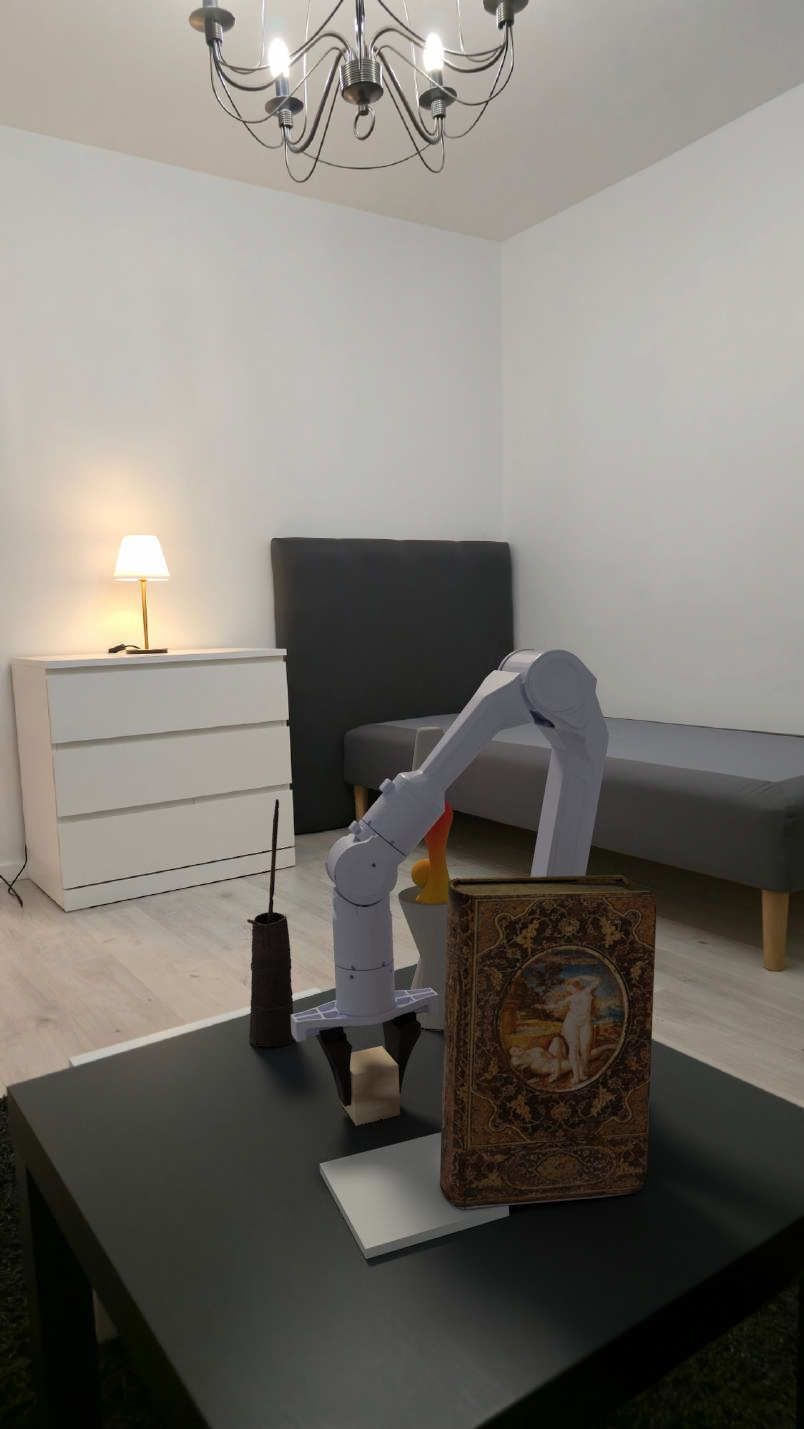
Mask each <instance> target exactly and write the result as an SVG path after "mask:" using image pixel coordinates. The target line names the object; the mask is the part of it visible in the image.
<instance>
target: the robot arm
mask: <svg viewBox="0 0 804 1429" xmlns="http://www.w3.org/2000/svg"><path fill="white" fill-rule="evenodd" d="M597 682H598V678H597V677H596V675H595V674H594V673H592V671H591V670H590V669H589V668H588V667H587V666H586V665H585V663H584V662H583V661H582V660H581V659H580V658H579V657H578V656H577V655H575V654H574V653H572V652H570V651H567V650H564V649H551V650H536V649H534V648H520V649H517V650H514V651H512V652H510V653H509V654H508V655H506V656H505V657H504V659H503V660H502V661H501V662H500V664H499V666H498V668H497V670H496V669H495V670H493V671H492V672H491V673H489V674H488V675H487V676H486V677H485V679H484V680H483V681H482V683H481V684H480V686H479V687H478V689H477V691H476V692H475V693H474V694H473V696H472V697H471V699H470V700H469V701H468V703H466V706H464V708H463V709H462V711H461V712H460V713H459V715H458V716H457V717H456V719H455V720H454V721H453V723H452V724H451V726H449V728H448V729H447V731H446V732H445V733H444V736H443V737H442V739H441V740H440V741H439V743H438V744H437V745H436V747H435V748H434V749H433V751H432V752H431V753H430V755H429V756H428V757H427V759H426V760H425V761H424V763H423V764H422V765H421V767H420V768H419V769H418V770H416V771H412V770H411V771H407V772H400V773H398V774H397V775H396V776H395V777H394V779H392V780H391V779H389V778H386V779H384V780H383V782H382V783H381V784H380V785H379V790H380V791H381V792H382V793H381V795H380V796H379V797H378V798H377V800H376V801H375V802H374V803H373V804H372V805H371V807H370V808H368V811H367V812H366V813H365V814H364V815H363V816H362V818H361V819H360V820H358V822H357V821H356V820H353V821H352V822H351V824H350V825H349V826H348V830H349V832H351V833H348V835H346V836H345V835H344V836H342V837H341V838H339V839H338V840H336V842H334V844H333V845H332V847H331V848H330V850H329V852H328V855H327V856H328V859H327V860H326V861H325V862H324V866H325V871H326V873H327V875H328V878H329V879H330V881H331V882H332V883H333V884H334V885H335V887H333V888H332V893H333V896H332V907H333V908H332V909H333V912H332V935H333V936H332V938H333V957H334V958H333V959H334V960H333V962H334V978H335V979H334V980H335V984H334V985H335V999H334V1000H332V1001H329V1002H326V1003H323V1004H320V1005H318V1006H316V1007H313V1008H310V1009H307V1010H305V1011H301V1012H300V1011H299V1012H297V1013H293V1014H291V1032H292V1035H293V1037H294V1038H295V1039H294V1040H295V1041H296V1042H297V1043H298V1042H299V1043H300V1042H303V1041H307V1039H308V1037H312V1036H315V1037H316V1040H317V1041H318V1043H319V1044H320V1047H321V1049H322V1052H323V1053H324V1055H325V1057H326V1059H327V1062H328V1064H329V1067H330V1070H331V1073H332V1076H333V1079H334V1083H335V1087H336V1091H337V1097H338V1099H339V1101H340V1103H341V1102H342V1104H343V1105H344V1106H350V1105H351V1098H352V1093H351V1082H350V1062H351V1053H352V1052H353V1051H352V1050H353V1046H352V1044H351V1043H350V1041H349V1040H348V1038H347V1033H346V1032H345V1030H346V1029H347V1030H348V1029H351V1028H356V1027H361V1026H372V1025H378V1024H381V1025H382V1031H383V1039H384V1047H385V1048H384V1049H385V1050H386V1051H387V1053H388V1054H389V1055H390V1056H391V1057H392V1058H393V1060H394V1061H395V1062H396V1063H397V1064H398V1072H399V1095H400V1094H401V1093H402V1089H403V1087H402V1086H403V1082H404V1077H405V1073H406V1069H407V1065H408V1062H409V1059H410V1057H411V1054H412V1051H413V1050H414V1047H415V1046H416V1043H417V1041H418V1040H419V1039H420V1037H421V1034H422V1029H421V1023H420V1022H419V1021H418V1020H417V1018H416V1014H421V1013H426V1012H427V1013H428V1014H436V1013H439V999H438V994H437V993H436V992H435V991H434V990H432V989H431V988H425V989H418V990H411V989H405V990H403V989H401V990H396V987H395V985H396V983H395V980H396V979H395V962H394V958H395V957H394V940H393V937H394V936H393V935H394V934H393V914H392V910H391V897H390V895H391V894H390V893H391V892H393V890H394V889H395V887H396V885H397V881H398V875H399V873H398V868H399V866H400V865H401V864H402V863H404V862H405V861H406V859H407V858H408V857H409V856H410V855H411V853H412V852H413V851H414V849H415V848H417V846H418V845H419V843H420V842H421V841H422V840H423V839H424V836H425V835H426V834H427V832H428V831H429V830H430V829H431V827H432V826H433V825H434V824H435V823H436V821H437V820H438V819H439V817H440V816H441V815H442V814H443V813H444V811H445V802H444V799H445V793H446V790H448V788H449V787H450V786H451V785H452V784H453V783H454V782H455V781H456V780H457V779H458V777H459V776H460V775H461V774H462V773H463V772H464V771H465V770H466V769H467V767H468V766H469V765H470V764H471V763H472V762H473V761H474V760H475V759H476V757H477V756H478V755H479V754H480V753H481V752H482V751H483V750H484V749H485V748H486V746H487V745H488V744H489V743H490V742H491V741H492V740H493V739H494V738H495V736H496V735H497V734H498V733H499V732H501V731H505V730H507V729H512V728H516V727H520V726H525V725H527V724H528V725H529V724H531V723H533V724H534V725H535V727H536V728H537V729H538V730H539V731H540V732H541V734H542V735H543V736H544V737H545V739H546V740H547V741H548V742H549V744H550V745H551V755H550V758H549V759H550V760H549V765H548V772H547V778H546V781H545V782H546V784H545V789H544V795H543V800H542V805H541V806H542V807H541V813H540V819H539V824H538V831H537V836H536V843H535V846H534V847H535V848H534V854H533V861H532V865H531V871H530V876H529V877H546V876H587V868H588V863H589V858H590V857H589V856H590V850H591V847H592V846H591V845H592V840H593V833H594V829H595V821H596V816H597V811H598V804H599V799H600V793H601V787H602V781H603V775H604V772H605V770H604V768H605V765H606V758H607V753H608V748H609V747H608V746H609V740H610V739H609V737H610V736H609V730H608V727H607V724H606V720H605V716H604V714H603V711H602V709H601V704H600V702H599V699H598V694H597V692H596V691H597ZM342 1104H341V1105H342ZM343 1105H342V1106H343Z"/></svg>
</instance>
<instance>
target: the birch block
mask: <svg viewBox="0 0 804 1429" xmlns="http://www.w3.org/2000/svg"><path fill="white" fill-rule="evenodd" d="M350 1082H351V1093H352V1098H351V1105H350V1106H344V1105H343V1104H342V1102H341V1101H340V1105H342V1107H343V1108H344V1110H345V1111H347V1112H346V1113H347V1114H349V1115H348V1117H350V1119H351V1121H352V1122H353V1124H354V1125H355V1126H356V1127H357V1126H362V1125H365V1123H366V1124H369V1122H370V1123H373V1122H378V1121H381V1120H380V1119H382V1120H385V1119H389V1118H393V1116H394V1117H396V1116H397V1115H398V1116H401V1104H400V1102H401V1101H400V1100H401V1099H400V1094H399V1072H398V1064H397V1063H396V1062H395V1061H394V1060H393V1058H392V1057H391V1056H390V1055H389V1054H388V1053H387V1051H386V1048H384V1046H383V1045H380V1046H375V1047H371V1048H366V1049H362V1050H357V1051H352V1052H351V1062H350ZM398 1116H397V1117H398ZM377 1120H378V1121H377ZM361 1124H362V1125H361Z"/></svg>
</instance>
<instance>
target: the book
mask: <svg viewBox="0 0 804 1429" xmlns="http://www.w3.org/2000/svg"><path fill="white" fill-rule="evenodd" d="M656 935H657V898H656V895H655V894H654V893H653V892H651V891H650V890H636V889H633V888H631V887H630V881H629V879H628V878H627V877H626V876H624V875H623V874H617V875H616V874H612V875H609V874H607V875H606V874H605V875H604V874H603V875H585V876H546V877H530V876H508V877H507V876H505V877H504V876H503V877H500V876H499V877H498V876H496V877H495V876H494V877H457V878H453V879H451V880H450V881H449V882H448V905H447V941H446V978H445V1014H444V1030H443V1051H442V1052H443V1053H442V1054H443V1057H442V1058H443V1059H442V1094H441V1101H442V1102H441V1125H440V1126H441V1128H440V1130H441V1131H440V1132H441V1160H440V1188H441V1191H442V1193H443V1195H444V1197H445V1198H446V1199H447V1200H448V1201H449V1202H450V1203H451V1204H453V1205H455V1206H456V1207H459V1208H462V1209H469V1208H481V1207H493V1206H505V1205H508V1206H514V1205H527V1204H537V1203H539V1204H541V1203H549V1202H551V1203H552V1202H553V1203H554V1202H565V1201H573V1200H589V1199H598V1198H608V1197H615V1196H623V1195H630V1194H637V1193H638V1192H640V1191H641V1190H642V1189H643V1187H644V1185H645V1182H646V1175H647V1168H648V1166H647V1165H648V1145H649V1122H650V1121H649V1118H650V1093H651V1091H650V1090H651V1066H652V1064H651V1063H652V1042H653V1041H652V1040H653V1017H654V1016H653V1013H654V992H655V991H654V987H655V986H654V985H655V984H654V983H655V967H656V966H655V963H656V937H657V936H656Z"/></svg>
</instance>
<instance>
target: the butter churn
mask: <svg viewBox="0 0 804 1429" xmlns="http://www.w3.org/2000/svg"><path fill="white" fill-rule="evenodd" d="M279 800H280V799H278V798H275V802H274V803H275V804H274V810H273V811H274V812H273V820H272V832H271V833H272V834H271V836H272V838H271V860H270V863H271V865H270V876H269V898H268V900H269V901H268V908H267V909H268V911H267V912H263V913H259V914H258V915H256V916H255V917H254V919H250V918H248V919H247V920H246V922H247V923H249V924H251V925H252V926H251V927H252V928H251V936H252V937H251V939H252V940H251V960H250V961H251V963H250V971H251V982H250V983H251V990H250V992H251V993H250V994H251V995H250V1009H249V1010H250V1014H249V1015H250V1016H249V1033H248V1034H249V1036H248V1041H249V1043H250V1044H251V1045H252V1046H254V1047H265V1048H267V1047H268V1048H269V1047H271V1048H272V1047H273V1048H279V1047H283V1046H286V1045H289V1044H291V1043H292V1042H293V1041H294V1040H295V1038H294V1037H293V1035H292V1032H291V1014H294V1006H293V1005H294V999H293V988H292V978H291V977H292V968H293V967H292V958H291V957H292V956H291V944H290V933H289V924H288V919H287V915H286V916H285V914H283V913H280V912H277V911H274V899H273V898H274V894H275V884H276V883H275V882H276V864H277V848H278V847H277V846H278V831H279V816H280V814H279V811H280V801H279Z"/></svg>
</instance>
